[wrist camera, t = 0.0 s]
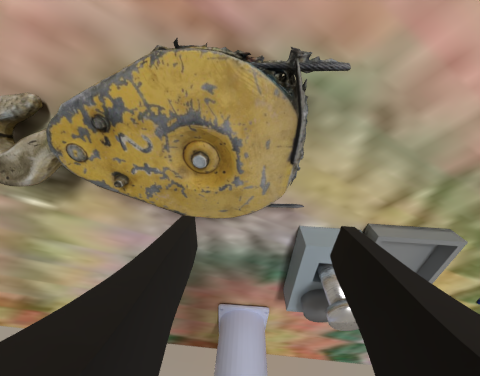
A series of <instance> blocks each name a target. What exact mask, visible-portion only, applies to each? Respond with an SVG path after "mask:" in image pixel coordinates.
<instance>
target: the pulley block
mask: <svg viewBox="0 0 480 376" xmlns="http://www.w3.org/2000/svg"><path fill="white" fill-rule="evenodd" d="M174 46H175V48H174V49H173V48H166V47H163V46H159V45H157V46H156V47H155V49H154V50H153V51H152V52H151V53H150V54H148V55H146V56H144V57H142V58H141V59H139V60H137V61H135V62H134V63H132V64H130V65H128V66H127V67H125V68H123V69H121V70H120V71H118V72H116V73H114V74H113V75H111V76H109V77H107V78H106V79H104V80H102V81H100V82H99V83H97V84H95V85H93V86H92V87H90V88H88V89H86V90H84V91H83V92H81V93H79V94H78V95H76V96H74V97H73V98H71V99H69V100H68V101H66V102H64V103H63V104H61V106H60V108H59V111H58V113H57V114H56V115H55V116H54V117H53V118H52V119H51V121H50V122H49V125H48V127H47V129H45V130H42V131H39V132H37V133H34V134H31V135H29V136H26V137H24V138H22V139H20V140H19V141H18V142H16V143H15V142H14V140H13V135H12V134H13V129H14V128H15V126H16V124H17V123H19V122H21V121H24V120H25V119H27V118H29V117H31V116H32V115H34V114H35V113H36V112H37V111H38V109H39V108H41V107H42V106H43V105H42V101H41V99H40V98H39V96H37V95H34V94H31V93H22V94H14V95H5V96H0V183H1V184H4V185H9V186H30V185H36V184H39V183H41V182H42V181H44V180H45V179H47V178H48V177H50V176H51V175H52V174H53V173H54V172H55V171H56V170H57V169H58V168H59V167H60V166H61V165H63V166H64V167H65V168H67V169H68V170H69V171H71V172H72V173H73V174H75V175H77V176H79V177H81V178H83V179H85V180H87V181H89V182H91V183H93V184H95V185H97V186H99V187H102V188H105V189H108V190H111V191H114V192H117V193H120V194H123V195H126V196H129V197H132V198H135V199H138V200H141V201H144V202H147V203H150V204H152V205H155V206H158V207H161V208H164V209H167V210H170V211H172V212H175V213H178V214H181V215H185V216H195V217H207V218H232V217H237V216H242V215H247V214H250V213H253V212H255V211H258V210H260V209H262V208H264V207H291V208H300V207H304V206H302V205H298V204H272V203H273V202H275V201H276V200H278V199H279V198H280V197H282V195H283V194H284V193H285V191H286V189H287V188H288V186H289V184H290V182H291V180H292V182H293V180H294V179H295V178H296V174H297V171H298V170H300V167H299V162H300V160H301V159H302V158H303V155H304V150H303V146H304V142H305V137H306V124H307V119H306V118H307V114H308V106H307V98H308V97H307V96H306V95H305V93H304V92H305V90H306V83H307V79H306V80H305V82H304V84H303V85H302V78H301V71H302V72H305V73H310V72H313V71H348V70H350V69H351V67H350V64H349V63H342V62H337V61H335V60H333V59H328V60H320V59H319V56H318V57H316V58H314V59H312V60H309V57H310V56H311V54H312V52H304V51H300V49H297V48H293V47H291V48H292V50H291V51H290V55H289V59H288V60H287V61H286V62H285V61H265V62H263V59H264V57H263V56H260V57H257V58H254V57H249V56H248V55H251V54H250V53H247V52H241V51H239V50H237V51H236V52H232V51H230V50H228V49H227V48H226V47H224V48H221V49H219V48H215V47H207V43H206V45H202V46H194V45H189V46H179V45H178V40H177V39H176V40H175V41H174ZM282 74H285V76H282ZM294 74H295V77H296V80H295V77H294ZM292 182H291V184H292ZM290 186H291V185H290Z"/></svg>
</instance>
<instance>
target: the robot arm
mask: <svg viewBox="0 0 480 376" xmlns="http://www.w3.org/2000/svg"><path fill="white" fill-rule="evenodd" d="M196 251H197V235H196V224H195V216H182V217H181V218H179V219H178V220H177V221H176V222H175V223H174V224H173V225H172V226H171V227H170V228H169V229H168V230H167V231H165V232H164V233H163V234H162V235H161V236H160V237H159V238H158V239H157V240H155V241H154V242H153V243H152V244H151V245H150V246H149V247H148V248H146V249H145V250H144V251H143V252H141V253H140V254H139V255H138V256H137V257H135V258H134V259H133V260H132V261H130V262H129V263H128V264H126V265H125V266H124V267H123V268H121V269H120V270H118V271H117V272H116V273H114V274H113V275H111V276H110V277H109V278H107V279H106V280H104V281H103V282H101V283H100V284H98V285H97V286H95V287H94V288H92V289H91V290H89V291H87V292H86V293H84V294H83V295H81V296H80V297H78V298H76V299H75V300H73V301H72V302H70V303H68V304H67V305H65V306H63V307H62V308H60V309H58V310H57V311H55V312H53V313H52V314H50V315H48V316H46V317H45V318H43V319H41V320H39V321H38V322H36V323H34V324H32V325H30V326H29V327H27V328H25V329H23V330H21V331H20V332H18V333H16V334H14V335H12V336H10V337H8V338H7V339H5V340H3V341H1V342H0V376H158V375H159V371H160V367H161V364H162V360H163V356H164V352H165V348H166V344H167V341H168V337H169V334H170V330H171V326H172V323H173V320H174V317H175V314H176V311H177V308H178V305H179V303H180V300H181V297H182V294H183V292H184V289H185V286H186V284H187V281H188V278H189V275H190V272H191V270H192V267H193V263H194V259H195V255H196ZM330 258H331V262H332V265H333V269H334V272H335V275H336V278H337V280H338V282H339V285H340V287H341V289H342V292H343V294H344V296H345V298H346V301H347V303H348V305H349V307H350V310H351V312H352V314H353V316H354V319H355V321H356V323H357V325H358V328H359V330H360V333H361V335H362V338H363V340H364V343H365V346H366V349H367V352H368V355H369V358H370V361H371V364H372V367H373V370H374V373H375V376H480V315H479V314H478V313H476V312H475V311H473V310H471V309H470V308H468V307H467V306H465V305H463V304H462V303H460V302H459V301H457V300H455V299H454V298H452V297H451V296H449V295H448V294H446V293H445V292H443V291H442V290H440V289H439V288H437V287H436V286H434V285H433V284H431V283H430V282H428V281H427V280H425V279H424V278H423V277H421V276H420V275H418V274H417V273H415V272H414V271H413V270H411V269H410V268H409V267H407V266H406V265H404V264H403V263H402V262H400V261H399V260H398V259H396V258H395V257H394V256H392V255H391V254H390V253H388V252H387V251H386V250H384V249H383V248H382V247H381V246H379V245H378V244H377V243H375V242H374V241H373V240H371V239H370V238H369V237H367V236H366V235H365V234H363V233H362V232H361V231H359V230H358V229H356V228H355V227H345V226H341V229H340V231H339V234H338V236H337V239H336V241H335V244H334V246H333V249H332V251H331V254H330ZM218 308H219V340H218V348H217V356H216V364H215V372H214V376H267V361H266V343H265V328H266V324H267V319H268V314H269V308H267V307H256V306H243V305H230V304H220V305H219V307H218Z"/></svg>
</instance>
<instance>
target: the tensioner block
mask: <svg viewBox="0 0 480 376" xmlns="http://www.w3.org/2000/svg"><path fill="white" fill-rule="evenodd" d="M339 231H340V229H336V228H321V227H306V226H299V230H298V234H297V238H296V242H295V245H294V249H293V253H292V257H291V261H290V265H289V269H288V273H287V277H286V280H285V284H284V288H283V291H284V298H285V304H286V310H287V311H295V312H303V313H304V316H305V317H306V318H307V319H308V320H310V321H313V322H328V320H327V317H326V313H325V312H326V309H327V308H328V307H329V306H330V305H329V303H328V300H327V297H326V294H325V291H324V289H323V286H322V283H321V280H320V277H319V274H318V272H317V267H318V264H319V263H328V264H332V262H331V258H330V254H331V251H332V249H333V246H334V244H335V241H336V239H337V236H338V234H339ZM359 231H361V230H359ZM361 232H362V231H361Z"/></svg>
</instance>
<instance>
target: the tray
mask: <svg viewBox="0 0 480 376" xmlns="http://www.w3.org/2000/svg"><path fill="white" fill-rule="evenodd" d="M364 234H365V235H366V236H367V237H369V238H370V239H371V240H373V241H374V242H375V243H377V244H378V245H379V246H381V247H382V248H383V249H384V250H386V251H387V252H388V253H390V254H391V255H392V256H394V257H395V258H396V259H398V260H399V261H400V262H402V263H403V264H404V265H406V266H407V267H409V268H410V269H411V270H413V271H414V272H415V273H417V274H418V275H420V276H421V277H423V278H424V279H425V280H427V281H428V282H430V283H431V284H432V283H433V282H434V281H435V280H436V279H437V277H438V276H439V275H440V274H441V273H442V272H443V271H444V269H445V268H446V267H447V266H448V265H449V264H450V262H451V261H452V260H453V259H454V258H455V257H456V256H457V254H458V253H459V252H460V251H461V250H462V249H463V247H464V246H465V245H466V244H467V243H468V242H467V241H465V240H464V239H463V238H461V237H460V236H459V235H457V234H456V233H455V232H453V231H452V230H450V229H441V228H426V227H411V226H396V225H380V224H368V225H367V227H366V229H365V232H364Z"/></svg>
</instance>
